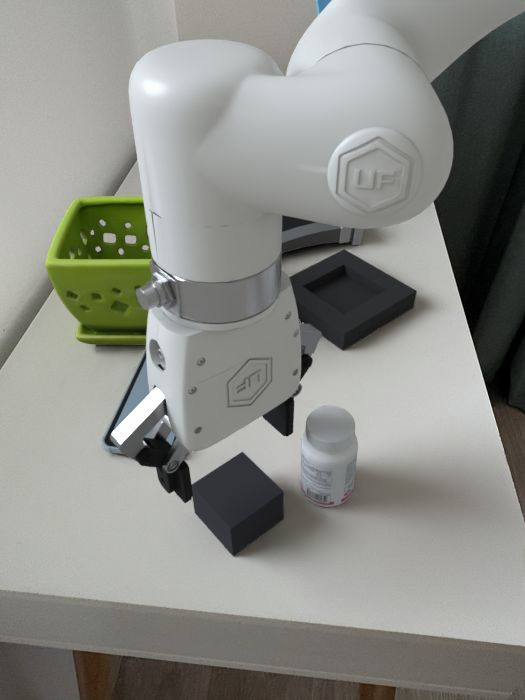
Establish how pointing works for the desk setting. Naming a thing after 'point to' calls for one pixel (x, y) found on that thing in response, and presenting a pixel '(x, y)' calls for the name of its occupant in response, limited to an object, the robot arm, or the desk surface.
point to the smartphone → (131, 404)
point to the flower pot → (102, 269)
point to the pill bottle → (328, 456)
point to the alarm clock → (315, 234)
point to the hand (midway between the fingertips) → (229, 455)
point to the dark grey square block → (238, 502)
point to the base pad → (349, 298)
